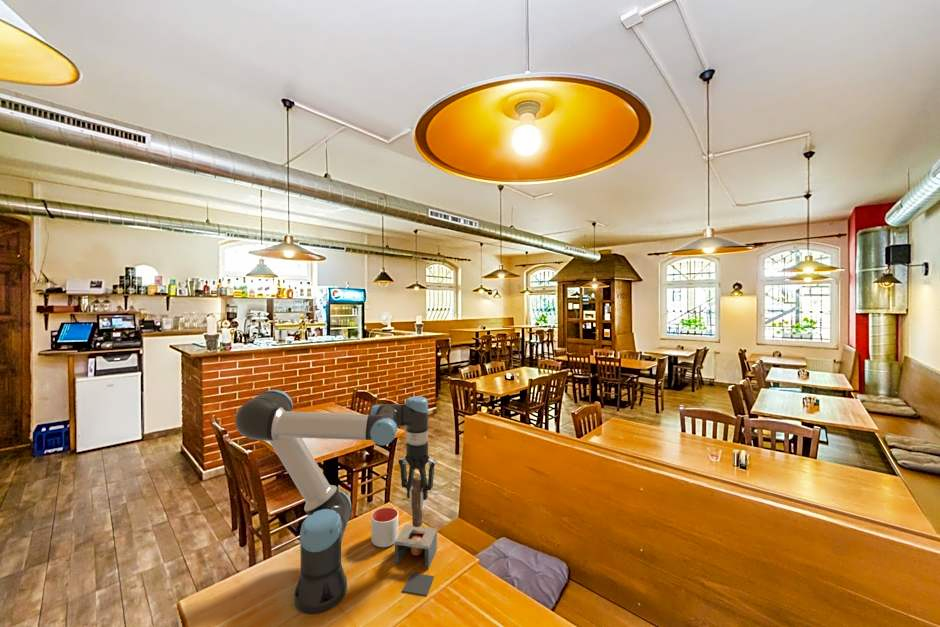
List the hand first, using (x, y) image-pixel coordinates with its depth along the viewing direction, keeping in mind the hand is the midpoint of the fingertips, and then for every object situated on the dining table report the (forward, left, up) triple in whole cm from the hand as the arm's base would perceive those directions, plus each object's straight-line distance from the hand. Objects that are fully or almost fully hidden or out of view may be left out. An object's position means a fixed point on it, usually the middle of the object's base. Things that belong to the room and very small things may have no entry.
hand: (417, 507), depth 133 cm
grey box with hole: (0, 0, -18) cm, 18 cm away
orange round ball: (0, 0, -16) cm, 16 cm away
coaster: (+5, -12, -18) cm, 22 cm away
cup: (-15, +6, -18) cm, 24 cm away
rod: (0, 0, -6) cm, 6 cm away
